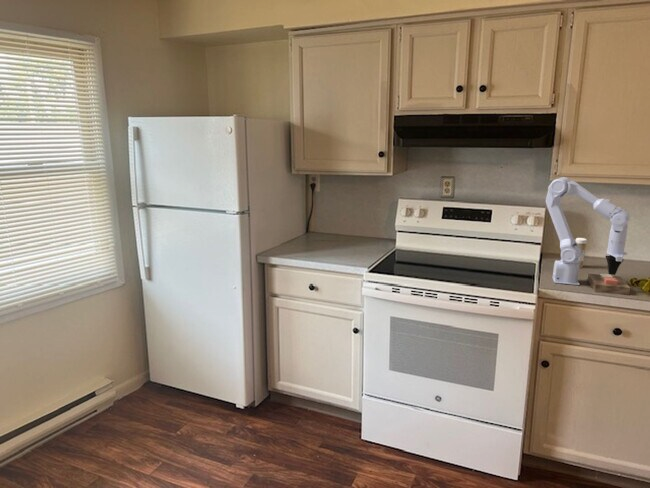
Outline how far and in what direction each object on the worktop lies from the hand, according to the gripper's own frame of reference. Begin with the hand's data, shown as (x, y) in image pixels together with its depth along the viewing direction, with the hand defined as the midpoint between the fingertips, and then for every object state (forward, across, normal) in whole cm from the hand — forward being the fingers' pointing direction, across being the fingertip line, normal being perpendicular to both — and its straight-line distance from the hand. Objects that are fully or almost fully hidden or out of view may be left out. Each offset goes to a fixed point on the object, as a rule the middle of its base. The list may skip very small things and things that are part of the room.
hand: (611, 274), depth 193 cm
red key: (+5, 0, 0) cm, 5 cm away
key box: (+7, +3, 0) cm, 7 cm away
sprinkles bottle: (+7, +32, +7) cm, 33 cm away
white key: (+5, +8, 0) cm, 9 cm away
